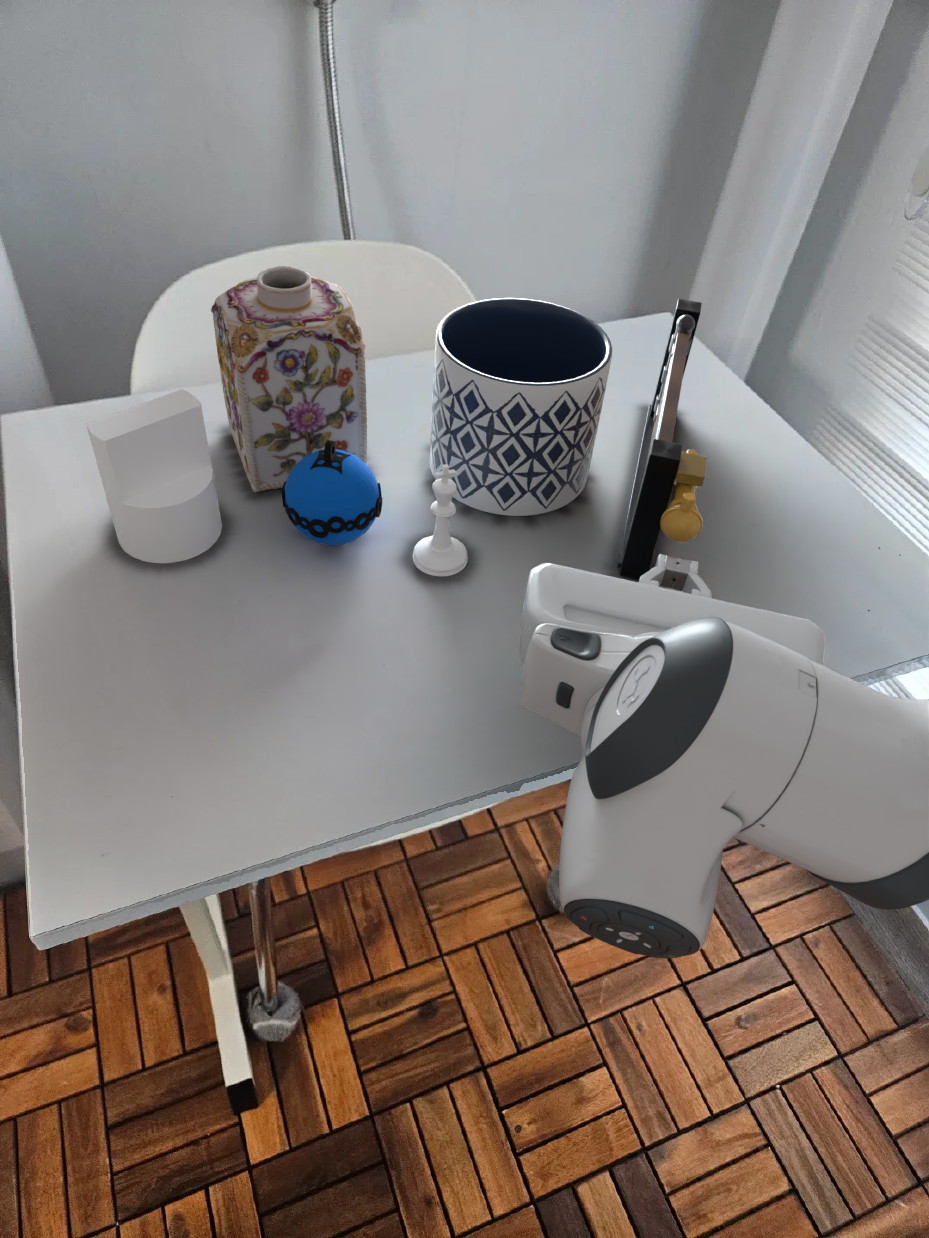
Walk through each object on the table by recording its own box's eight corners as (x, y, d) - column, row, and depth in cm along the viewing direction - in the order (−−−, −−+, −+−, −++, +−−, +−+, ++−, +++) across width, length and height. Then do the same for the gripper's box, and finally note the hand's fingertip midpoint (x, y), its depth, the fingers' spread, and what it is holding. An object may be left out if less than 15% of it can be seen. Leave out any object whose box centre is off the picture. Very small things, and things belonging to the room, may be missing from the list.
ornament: (301, 499, 84) (294, 407, 77) (390, 513, 83) (391, 421, 76) (273, 558, 78) (262, 464, 71) (369, 573, 77) (367, 480, 70)
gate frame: (648, 409, 99) (675, 298, 90) (691, 417, 99) (723, 306, 89) (615, 577, 79) (645, 455, 70) (669, 589, 78) (708, 468, 69)
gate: (652, 414, 97) (678, 309, 88) (670, 418, 96) (698, 313, 88) (625, 547, 80) (654, 434, 72) (647, 552, 80) (678, 439, 72)
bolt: (666, 469, 77) (678, 427, 74) (703, 476, 76) (716, 434, 73) (654, 546, 69) (667, 503, 66) (695, 555, 69) (710, 512, 66)
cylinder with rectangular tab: (188, 487, 84) (166, 373, 75) (241, 535, 80) (224, 420, 71) (98, 525, 79) (64, 408, 71) (150, 578, 75) (120, 460, 66)
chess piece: (405, 545, 80) (407, 453, 73) (457, 536, 82) (464, 444, 74) (421, 581, 77) (425, 488, 70) (475, 571, 78) (484, 479, 71)
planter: (558, 421, 96) (579, 293, 86) (609, 511, 86) (640, 378, 75) (414, 432, 93) (418, 301, 83) (449, 528, 82) (459, 391, 72)
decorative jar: (338, 412, 95) (331, 243, 82) (370, 475, 87) (369, 300, 74) (225, 429, 91) (199, 255, 78) (249, 496, 84) (225, 316, 71)
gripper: (846, 711, 52) (835, 562, 62) (507, 633, 55) (548, 502, 64) (809, 773, 57) (804, 625, 66) (498, 698, 59) (537, 566, 69)
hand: (676, 564), depth 65 cm, fingers closed
